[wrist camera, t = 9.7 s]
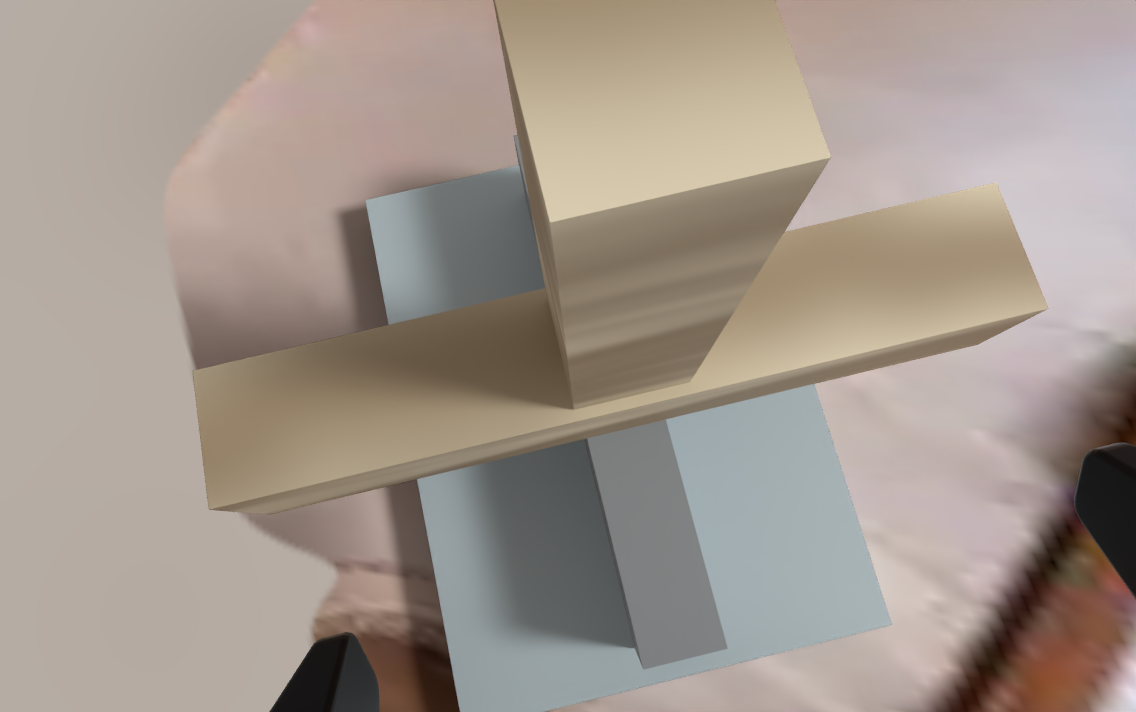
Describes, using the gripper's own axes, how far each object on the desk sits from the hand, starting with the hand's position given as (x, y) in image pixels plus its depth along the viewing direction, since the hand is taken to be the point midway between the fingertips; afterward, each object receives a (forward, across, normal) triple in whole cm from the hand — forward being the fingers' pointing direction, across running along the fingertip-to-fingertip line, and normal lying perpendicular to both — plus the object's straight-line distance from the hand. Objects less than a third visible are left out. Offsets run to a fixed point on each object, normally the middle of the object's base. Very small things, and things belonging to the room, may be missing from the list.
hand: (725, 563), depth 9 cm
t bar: (+10, 0, +3) cm, 10 cm away
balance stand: (+13, 0, +6) cm, 14 cm away
